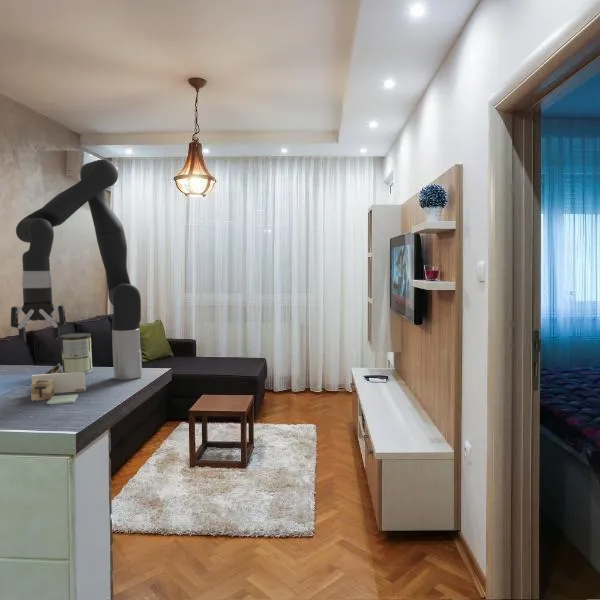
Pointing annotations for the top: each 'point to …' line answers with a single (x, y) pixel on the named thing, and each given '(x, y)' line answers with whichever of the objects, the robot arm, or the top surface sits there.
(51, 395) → the letter cube
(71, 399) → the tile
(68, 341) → the coffee can
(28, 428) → the top surface
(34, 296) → the robot arm
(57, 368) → the rock
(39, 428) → the top surface
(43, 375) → the screen
